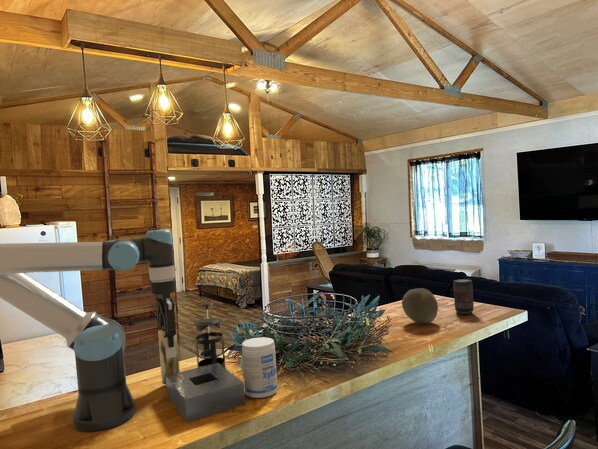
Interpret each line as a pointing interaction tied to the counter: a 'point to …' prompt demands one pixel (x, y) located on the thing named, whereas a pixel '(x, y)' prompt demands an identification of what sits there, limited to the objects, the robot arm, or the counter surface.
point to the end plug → (167, 364)
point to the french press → (209, 341)
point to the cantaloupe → (420, 305)
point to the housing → (204, 391)
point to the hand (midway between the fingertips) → (168, 354)
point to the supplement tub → (259, 367)
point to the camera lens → (463, 297)
